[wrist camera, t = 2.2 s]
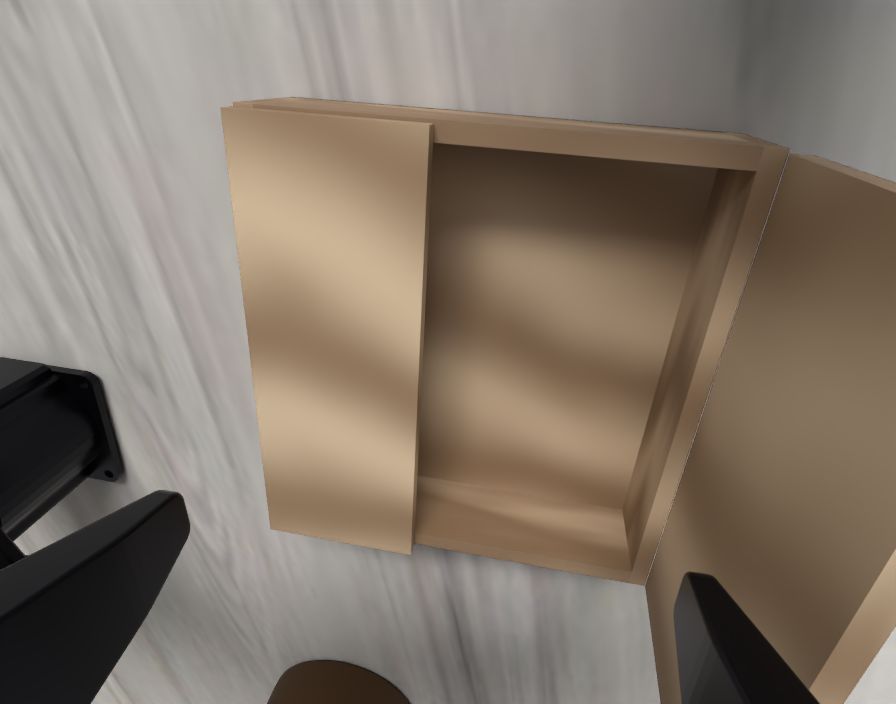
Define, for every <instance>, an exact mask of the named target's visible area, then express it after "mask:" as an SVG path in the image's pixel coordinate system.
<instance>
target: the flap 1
mask: <svg viewBox="0 0 896 704" xmlns="http://www.w3.org/2000/svg"><path fill="white" fill-rule="evenodd" d="M221 116H222V124H223V132H224V141H225V149H226V158H227V166H228V174H229V183H230V191H231V200H232V208H233V216H234V225H235V233H236V242H237V250H238V259H239V267H240V275H241V284H242V292H243V301H244V309H245V317H246V326H247V334H248V343H249V351H250V359H251V368H252V376H253V385H254V393H255V402H256V410H257V418H258V427H259V435H260V444H261V452H262V460H263V469H264V477H265V486H266V494H267V502H268V511H269V519H270V528H271V529H273V530H279V531H284V532H289V533H295V534H300V535H306V536H311V537H316V538H322V539H327V540H332V541H338V542H343V543H348V544H354V545H359V546H365V547H370V548H375V549H381V550H386V551H391V552H397V553H402V554H408V555H411V553H412V549H413V546H414V537H415V516H416V494H417V473H418V452H419V431H420V409H421V388H422V367H423V346H424V325H425V303H426V282H427V261H428V240H429V218H430V197H431V176H432V155H433V134H434V123H422V122H411V121H399V120H387V119H375V118H363V117H351V116H340V115H328V114H316V113H304V112H292V111H280V110H269V109H257V108H245V107H233V106H231V107H221Z"/></svg>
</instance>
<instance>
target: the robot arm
mask: <svg viewBox="0 0 896 704" xmlns="http://www.w3.org/2000/svg"><path fill="white" fill-rule="evenodd" d="M122 474H123V469H122V466H121V462H120V458H119V455H118V451H117V447H116V444H115V440H114V436H113V432H112V429H111V425H110V421H109V418H108V414H107V410H106V407H105V403H104V399H103V396H102V392H101V388H100V384H99V381H98V379H97V377H96V376H95V375H94V374H92V373H91V372H88V371H82V370H76V369H69V368H63V367H56V366H50V365H45V364H42V363H35V362H29V361H22V360H16V359H10V358H3V357H0V704H91V702H92V701H93V699H94V698H95V696H96V695H97V693H98V691H99V690H100V688H101V687H102V685H103V684H104V682H105V681H106V679H107V677H108V676H109V674H110V673H111V671H112V670H113V668H114V667H115V665H116V663H117V662H118V660H119V659H120V657H121V656H122V654H123V653H124V651H125V649H126V648H127V646H128V645H129V643H130V642H131V640H132V639H133V637H134V635H135V634H136V632H137V631H138V629H139V628H140V626H141V624H142V623H143V621H144V620H145V618H146V616H147V615H148V613H149V611H150V609H151V608H152V606H153V604H154V602H155V600H156V598H157V596H158V594H159V593H160V591H161V589H162V587H163V585H164V583H165V581H166V579H167V577H168V575H169V573H170V571H171V569H172V567H173V566H174V564H175V562H176V560H177V558H178V556H179V554H180V552H181V550H182V548H183V546H184V544H185V542H186V541H187V538H188V536H189V533H190V521H189V518H188V514H187V510H186V506H185V502H184V499H183V496H182V495H181V494H180V493H178V492H173V491H166V490H158V491H155V492H153V493H151V494H149V495H147V496H145V497H143V498H141V499H139V500H137V501H135V502H133V503H131V504H129V505H127V506H125V507H123V508H121V509H119V510H117V511H116V512H114V513H112V514H110V515H108V516H106V517H104V518H102V519H100V520H98V521H96V522H94V523H92V524H90V525H88V526H86V527H84V528H82V529H80V530H78V531H76V532H74V533H72V534H70V535H68V536H66V537H64V538H62V539H60V540H59V541H57V542H55V543H53V544H51V545H49V546H47V547H45V548H43V549H41V550H39V551H37V552H35V553H33V554H31V555H24V554H23V552H22V551H21V550H20V549H19V548H18V547H17V546H16V544H15V543H14V542H13V541H14V540H15V539H17V538H18V537H19V536H20V535H21V534H22V533H24V532H25V531H26V530H27V529H28V528H29V527H30V526H32V525H33V524H34V523H35V522H36V521H37V520H39V519H40V518H41V517H42V516H43V515H44V514H46V513H47V512H48V511H49V510H50V509H51V508H53V507H54V506H55V505H56V504H57V503H58V502H59V501H61V500H62V499H63V498H64V497H65V496H66V495H68V494H69V493H70V492H71V491H72V490H73V489H75V488H76V487H77V486H78V485H79V484H80V483H82V482H83V481H84V480H85V479H86V478H87V477H89V478H94V479H100V480H105V481H111V482H114V481H116V480H118V479H119V478H120V477H121V476H122ZM673 619H674V630H675V641H676V651H677V662H678V672H679V683H680V693H681V703H682V704H820V703H819V701H818V700H817V699H816V698H815V697H814V695H813V694H812V693H811V692H810V691H809V689H808V688H807V687H806V686H805V685H804V683H803V682H802V681H801V680H800V679H799V677H798V676H797V675H796V674H795V673H794V671H793V670H792V669H791V668H790V667H789V665H788V664H787V663H786V662H785V661H784V659H783V658H782V657H781V656H780V655H779V653H778V652H777V651H776V650H775V649H774V647H773V646H772V645H771V644H770V643H769V641H768V640H767V639H766V638H765V637H764V635H763V634H762V633H761V632H760V631H759V629H758V628H757V627H756V626H755V625H754V623H753V622H752V621H751V620H750V619H749V617H748V616H747V615H746V614H745V613H744V611H743V610H742V609H741V608H740V607H739V605H738V604H737V603H736V602H735V601H734V599H733V598H732V597H731V596H730V595H729V593H728V592H727V591H726V590H725V589H724V587H723V586H722V585H721V584H720V583H719V581H718V580H717V579H716V578H715V577H713V576H712V575H710V574H704V573H698V572H691V571H689V572H686V573H685V574H684V576H683V578H682V582H681V585H680V588H679V591H678V594H677V597H676V601H675V604H674V611H673Z"/></svg>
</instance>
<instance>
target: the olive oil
mask: <svg viewBox="0 0 896 704" xmlns="http://www.w3.org/2000/svg"><path fill="white" fill-rule="evenodd" d="M267 704H409V702H408V701H407V699H406V698H405V697H404V696H403V694H402V693H401V692H400V691H399V690H398V689H397V688H395V687H394V686H393V685H392V684H390V683H389V682H388V681H386V680H385V679H383V678H382V677H380V676H378V675H376V674H374V673H372V672H370V671H368V670H366V669H363V668H361V667H358V666H355V665H351V664H347V663H343V662H337V661H328V660H316V661H308V662H304V663H300V664H298V665H295V666H293V667H291V668H289V669H288V670H287V671H286V672H284V673H283V675H282V676H281V677H280V679H279V681H278V683H277V684H276V686H275V688H274V690H273V692H272V694H271V696H270V699H269V701H268V703H267Z"/></svg>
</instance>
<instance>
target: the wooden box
mask: <svg viewBox="0 0 896 704" xmlns="http://www.w3.org/2000/svg"><path fill="white" fill-rule="evenodd" d="M233 107H245V108H257V109H269V110H280V111H292V112H304V113H316V114H328V115H340V116H351V117H363V118H375V119H387V120H399V121H411V122H422V123H434V134H433V155H432V176H431V197H430V218H429V240H428V261H427V282H426V303H425V325H424V346H423V367H422V388H421V409H420V431H419V452H418V473H417V494H416V516H415V537H414V544H420V545H425V546H431V547H436V548H442V549H447V550H452V551H458V552H463V553H469V554H474V555H480V556H485V557H491V558H496V559H501V560H507V561H512V562H518V563H523V564H529V565H534V566H540V567H545V568H551V569H556V570H561V571H567V572H572V573H578V574H583V575H589V576H594V577H600V578H605V579H611V580H616V581H621V582H627V583H632V584H638V585H643V586H644V585H645V582H646V579H647V576H648V573H649V570H650V567H651V564H652V561H653V558H654V555H655V552H656V549H657V546H658V543H659V540H660V537H661V534H662V531H663V528H664V525H665V522H666V519H667V516H668V513H669V510H670V507H671V504H672V501H673V498H674V495H675V492H676V489H677V486H678V483H679V480H680V477H681V474H682V471H683V468H684V465H685V462H686V459H687V456H688V453H689V450H690V447H691V444H692V441H693V438H694V435H695V432H696V429H697V426H698V423H699V420H700V417H701V414H702V411H703V408H704V405H705V402H706V399H707V396H708V393H709V390H710V387H711V384H712V381H713V378H714V375H715V372H716V369H717V366H718V363H719V360H720V357H721V354H722V351H723V348H724V345H725V342H726V339H727V336H728V333H729V330H730V327H731V324H732V321H733V318H734V315H735V312H736V309H737V306H738V303H739V300H740V297H741V294H742V291H743V288H744V285H745V282H746V279H747V276H748V273H749V270H750V267H751V264H752V261H753V258H754V255H755V252H756V249H757V246H758V243H759V240H760V237H761V234H762V231H763V228H764V225H765V222H766V219H767V216H768V213H769V210H770V207H771V204H772V201H773V198H774V195H775V192H776V189H777V186H778V183H779V180H780V177H781V174H782V171H783V168H784V165H785V162H786V159H787V156H788V153H789V150H790V149H789V148H786V147H783V146H779V145H776V144H773V143H770V142H767V141H764V140H761V139H758V138H755V137H751V136H748V135H745V134H742V133H729V132H717V131H705V130H692V129H680V128H668V127H655V126H643V125H631V124H618V123H606V122H594V121H581V120H569V119H557V118H544V117H532V116H520V115H507V114H495V113H483V112H470V111H458V110H446V109H433V108H421V107H408V106H396V105H384V104H371V103H359V102H347V101H334V100H322V99H310V98H297V97H287V98H276V99H265V100H254V101H243V102H233Z"/></svg>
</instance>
